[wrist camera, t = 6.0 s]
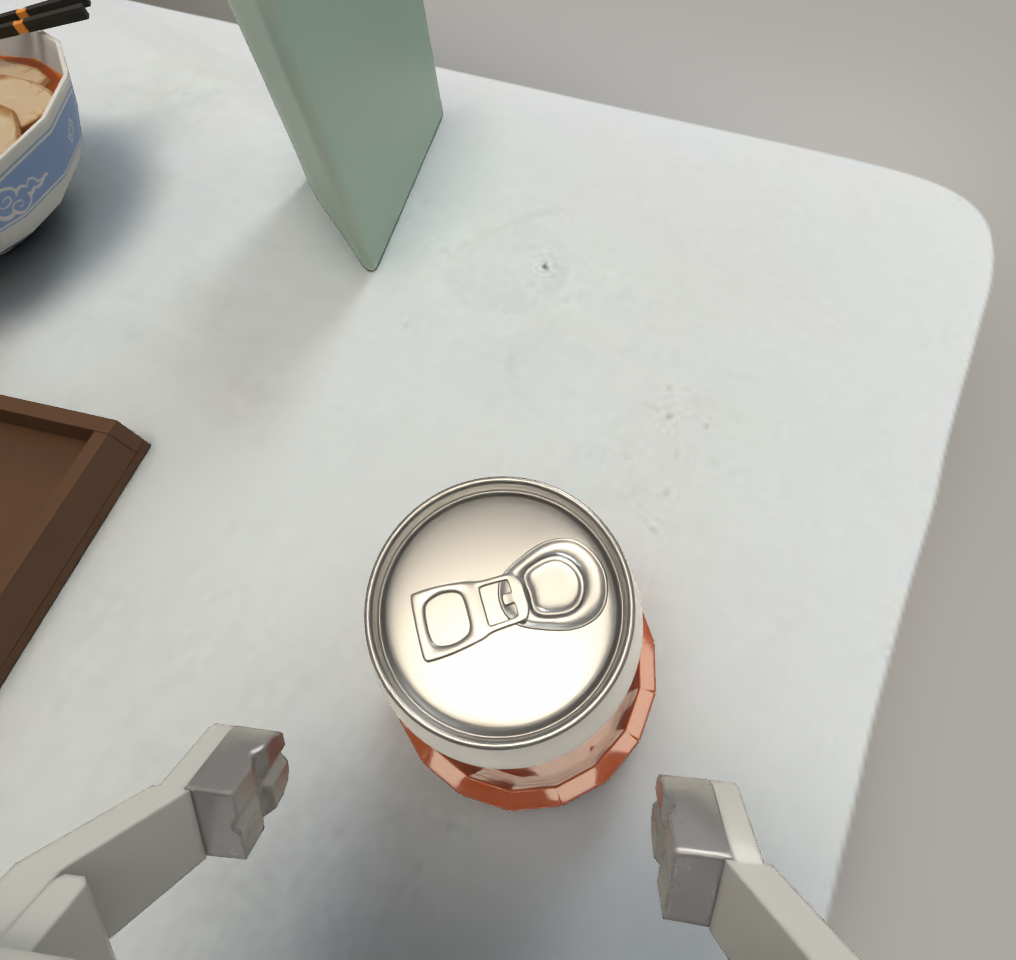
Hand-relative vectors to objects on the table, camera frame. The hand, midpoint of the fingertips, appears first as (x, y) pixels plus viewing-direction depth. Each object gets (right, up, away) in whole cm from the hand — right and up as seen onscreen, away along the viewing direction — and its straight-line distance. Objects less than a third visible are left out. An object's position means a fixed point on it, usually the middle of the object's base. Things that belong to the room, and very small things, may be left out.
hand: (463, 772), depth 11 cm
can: (+2, -1, +11) cm, 11 cm away
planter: (-9, +27, +25) cm, 38 cm away
